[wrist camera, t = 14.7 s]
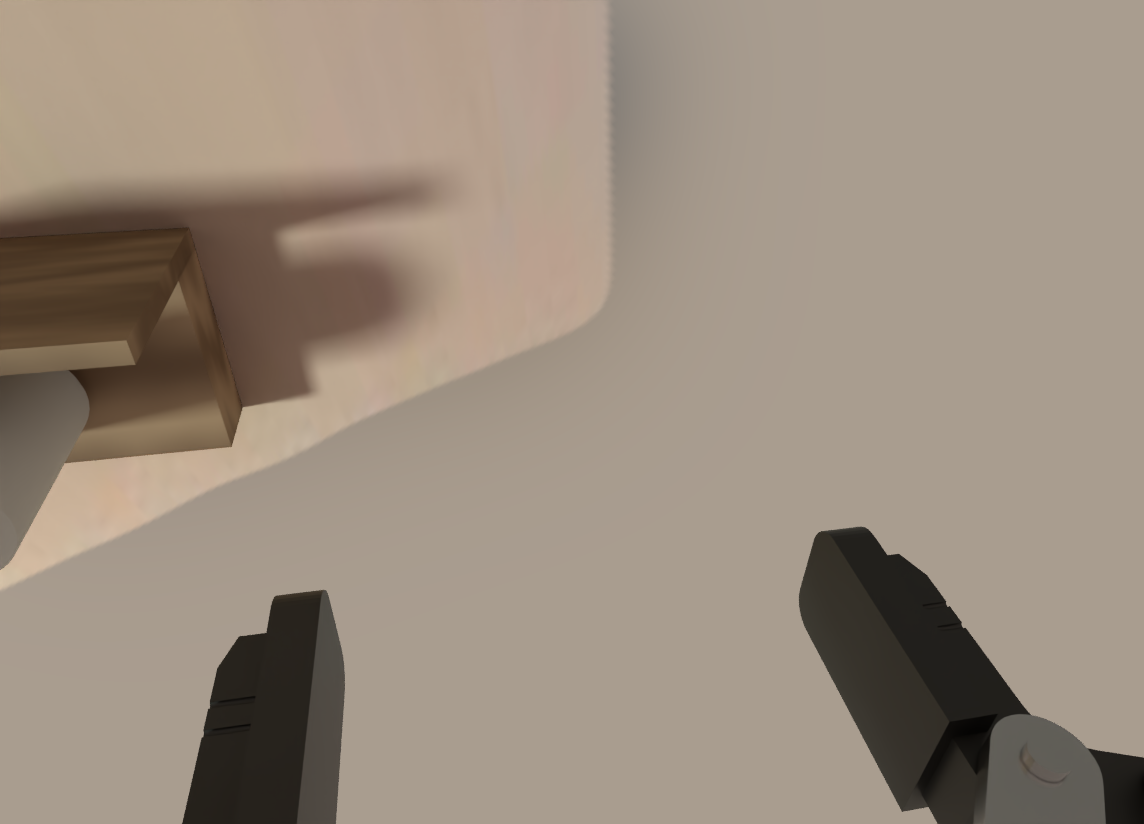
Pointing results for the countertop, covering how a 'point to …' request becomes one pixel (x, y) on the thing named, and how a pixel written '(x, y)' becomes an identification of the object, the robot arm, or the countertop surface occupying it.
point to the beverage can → (34, 445)
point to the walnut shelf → (121, 337)
